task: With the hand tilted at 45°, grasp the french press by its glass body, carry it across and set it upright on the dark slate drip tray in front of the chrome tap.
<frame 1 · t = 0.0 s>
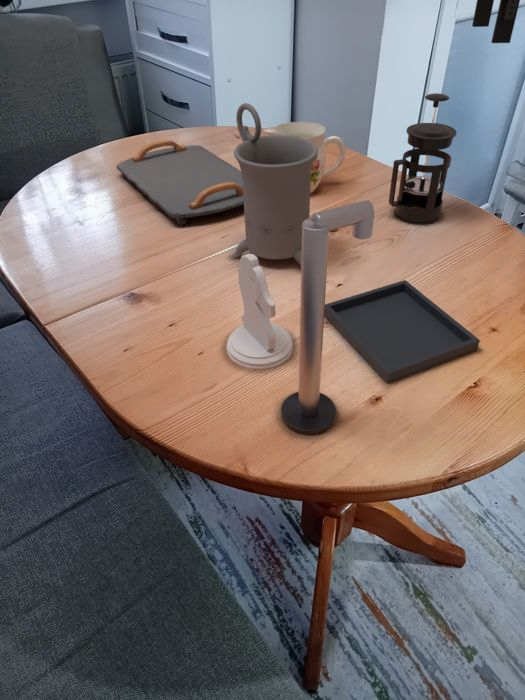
hand: (489, 34, 92), 32 cm above the table, tool pointing down, fingers open, 13 cm apart
drip tray: (396, 332, 81), on the table
tap: (308, 414, 69), on the table
pitcher: (303, 189, 121), on the table
french press: (414, 215, 110), on the table
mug: (274, 252, 101), on the table
serving tray: (188, 189, 124), on the table
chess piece: (259, 348, 80), on the table
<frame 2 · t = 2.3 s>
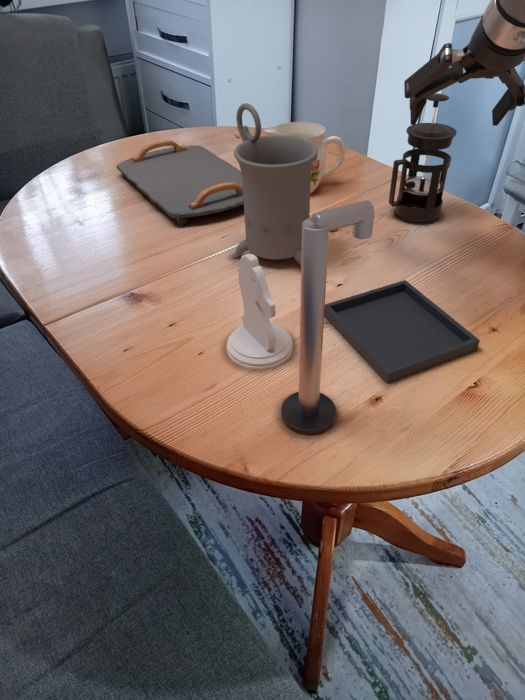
hand: (453, 117, 90), 22 cm above the table, tool tilted 45°, fingers open, 13 cm apart
nothing on the table moved.
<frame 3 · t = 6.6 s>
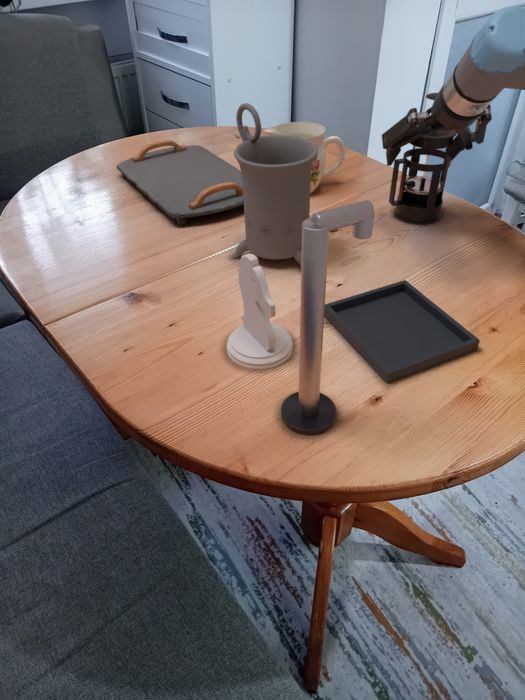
hand: (418, 157, 105), 11 cm above the table, tool tilted 45°, fingers closed on french press, 11 cm apart
french press: (414, 215, 110), on the table, touching gripper
everything else where it was.
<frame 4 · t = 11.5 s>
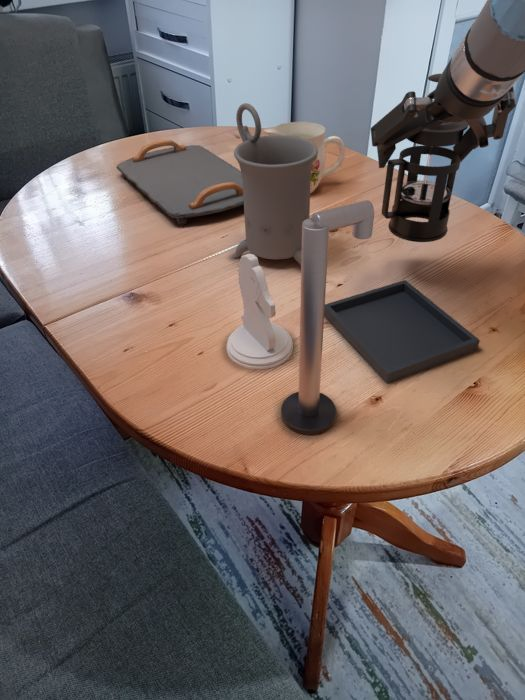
hand: (418, 157, 83), 19 cm above the table, tool tilted 45°, fingers closed on french press, 11 cm apart
french press: (414, 230, 88), point 8 cm above the table, touching gripper
everything else where it was.
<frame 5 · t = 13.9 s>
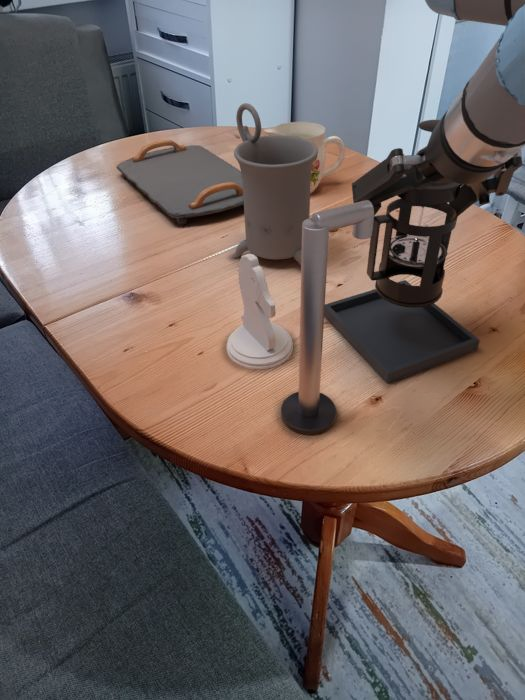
hand: (408, 211, 72), 18 cm above the table, tool tilted 45°, fingers closed on french press, 11 cm apart
french press: (404, 290, 77), point 7 cm above the table, touching gripper
everything else where it was.
when the fingers open (11 cm above the table, at t = 16.4 s): french press stays where it is, resting on drip tray.
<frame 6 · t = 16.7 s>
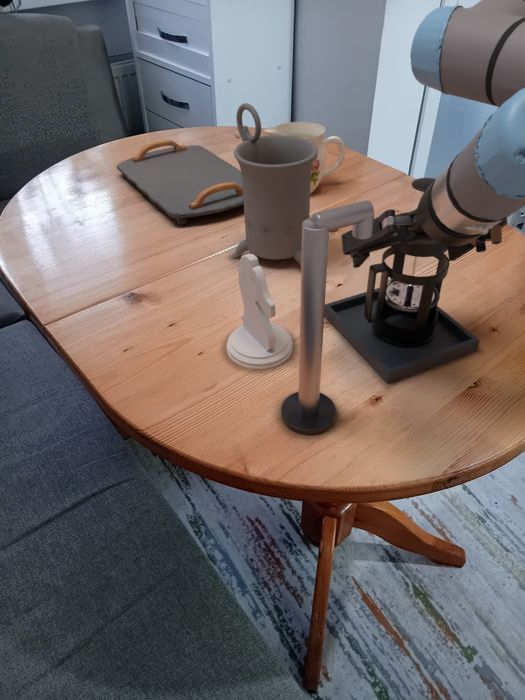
hand: (403, 254, 75), 12 cm above the table, tool tilted 45°, fingers open, 13 cm apart
french press: (399, 329, 81), resting on drip tray
everything else where it was.
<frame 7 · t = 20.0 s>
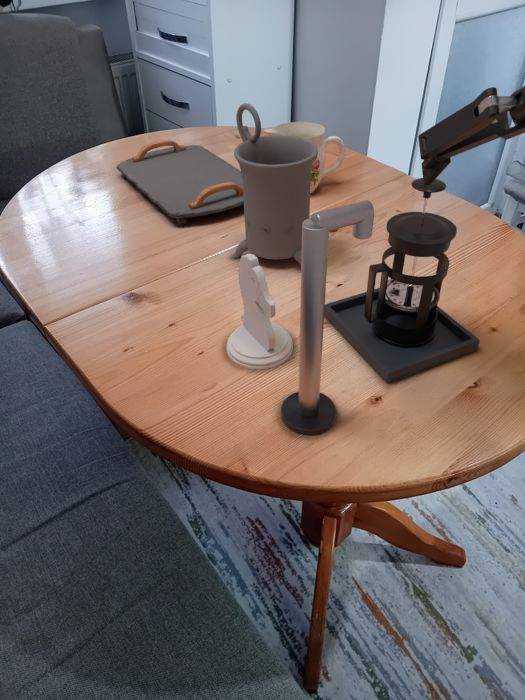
hand: (481, 170, 65), 25 cm above the table, tool tilted 45°, fingers open, 13 cm apart
nothing on the table moved.
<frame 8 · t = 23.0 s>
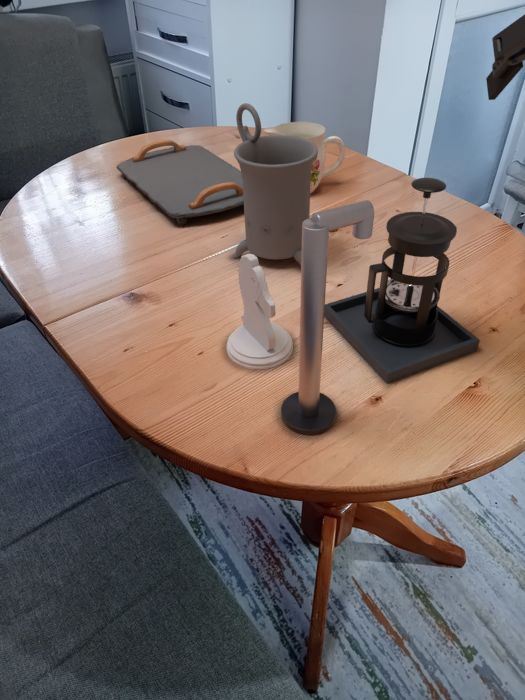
nothing on the table moved.
at the end: french press inside the target area in the drip tray (0.6 cm from its centre), point 0.3 cm above the drip tray's base; french press tilted 0°; the gripper is holding nothing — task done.
